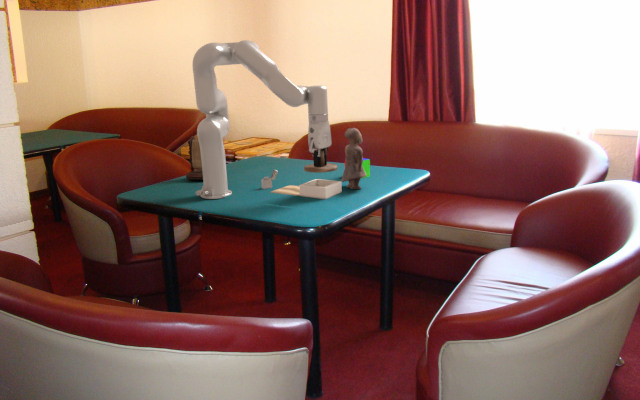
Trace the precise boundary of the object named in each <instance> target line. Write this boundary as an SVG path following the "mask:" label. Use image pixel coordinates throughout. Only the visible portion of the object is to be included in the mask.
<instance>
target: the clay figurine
mask: <svg viewBox="0 0 640 400" xmlns="http://www.w3.org/2000/svg"><path fill="white" fill-rule="evenodd" d="M344 138H346V139H348V140H349V144H347V145H346V146H345V148H344V153H345V160H346V166H345V165H344V171H343V173H342V177H341V183H345V182H346V181H348V184H347V185H346V188H349V189H351V190H361V189H362V187H361V186H360V185H359V184H360V181H361V179H364V178H363V177H365V176H367V175H366V173H365V171H364V169H363V166H362V163H363V158H364V156H363V152H364V151H363V148H362V147H360V146H359V145H361V144H362V143H364V140H363V136H362V134H361V132H360V130H359V129H358V128H356V127H350V128H347V129H346V131H345V132H344ZM365 178H366V177H365Z"/></svg>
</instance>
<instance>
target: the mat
mask: <svg viewBox="0 0 640 400" xmlns="http://www.w3.org/2000/svg"><path fill="white" fill-rule="evenodd" d="M270 193H273V194H280V195H288V196H296V197H298V196H300V187H299V185H293V184H289V185H287V186H283V187H280V188H276V189H274V190H272V191H270Z"/></svg>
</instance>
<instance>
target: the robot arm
mask: <svg viewBox="0 0 640 400" xmlns="http://www.w3.org/2000/svg"><path fill="white" fill-rule="evenodd" d="M231 65H242V66H243V67H245V69H247V70H248V71H249V72H250V73H252V74H253V75H254V76H255V77H256V78H258V79H259V80H260V81H261V82H262V83H263V84H264V85H265V86H266V87H267V89H269V90H270V91H271V92H272V93H273V94H274V95H275V96H276V97H277V98H279V99H280V100H281V101H282V102H283V103H285V104H286V105H287V106H289V107H291V108H298V107H300V106H304V105H307V113H308V128H307V129H308V130H307V131H308V133H307V134H308V135H307V136H308V137H307V141H308V143H307V144H308V152H309V153H311V154H312V157H313V164H314V167H321V157H320V150H323V151H324V161H325V165H327V163H328V158H327V156H328V150H329V148H330V147H331V146H332V132H331V124H330V122H329V109H328V108H329V107H328V103H329V102H328V88H327V86H325V85H311V86H307V85H295V84H294V83H293V82H292V81H291V80H289V78H287V77H286V76H285V75H284V74H283V73H282V72H281V70H280V68H279V66H278V64H277V63H276V62H275V61H274V60H272V59H271V58H270V57H269V56H267V54H265V53H264V52H263V51H262V50H260V46H259V45H258V44H257V43H256V42H255V41H253V40H247V39H246V40H245V39H244V40H240V41H238V42H237V41H236V42H208V43H206V44H203V45H202V46H201V47H199V48H198V50H196V52H195V53H194V55H193V57H192V73H193V80H194V81H193V82H194V84H193V85H194V92H195V93H194V94H195V102H196V106H197V107H196V108H197V109H198V110H199V111H200V113H202V114H203V115H204V114H205V117H206V118H203V119H202V120H201V121H200V122H199V123H198V125H197V129H196V135H197V140H199V145H200V152H201V160H202V172H203V179H202V180H203V182H202V183H203V185H202V186H201V189H198V190H196V191H195V195H196V196H200V197H201V198H202V199H207V200H216V199H217V200H218V199H224V198H225V197H229V196H231V195H232V194H233V191H232V190H230V189H228V188H229V187H228V176H227V174H228V173H227V161H226V151H225V145H224V141H223V138H225V136H227V135H228V133H229V131H230V117H229V109H228V100H227V97H226V95H225V93H224V92H223V91H222V90H221V89H219V88H218V84H217V76H216V72H215V67H216V66H218V67H219V66H231Z"/></svg>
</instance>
